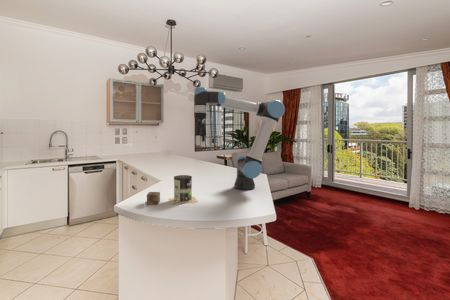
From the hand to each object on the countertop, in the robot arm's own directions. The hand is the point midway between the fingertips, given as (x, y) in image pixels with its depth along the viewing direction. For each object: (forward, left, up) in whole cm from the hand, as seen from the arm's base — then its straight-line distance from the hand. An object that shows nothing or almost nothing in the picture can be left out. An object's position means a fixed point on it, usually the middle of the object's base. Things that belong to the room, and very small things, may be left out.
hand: (200, 146), depth 151 cm
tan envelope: (+13, +13, -31) cm, 36 cm away
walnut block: (+29, +12, -32) cm, 45 cm away
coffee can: (+13, +12, -31) cm, 36 cm away
